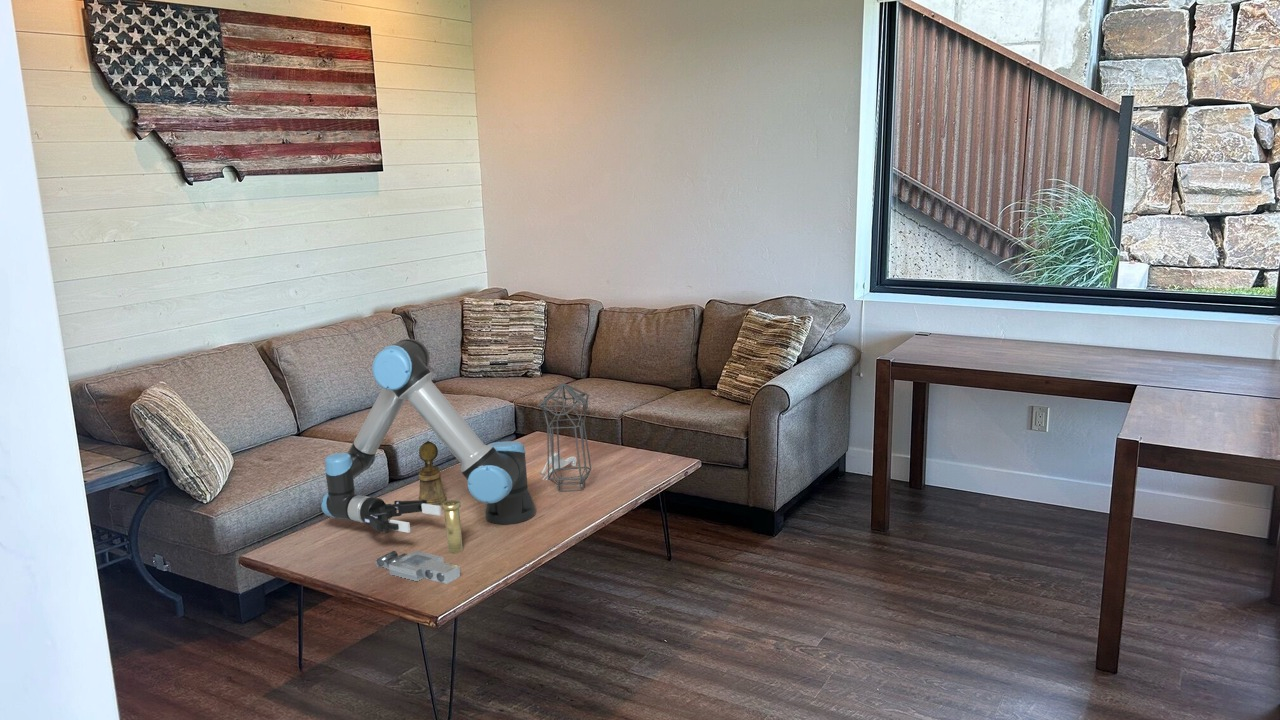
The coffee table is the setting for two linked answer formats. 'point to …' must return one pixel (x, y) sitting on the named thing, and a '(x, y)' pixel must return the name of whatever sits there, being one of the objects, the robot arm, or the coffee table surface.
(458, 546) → the pin
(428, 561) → the grey link plate
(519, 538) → the coffee table surface
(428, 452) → the brass bell
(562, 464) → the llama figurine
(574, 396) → the geometric lantern
